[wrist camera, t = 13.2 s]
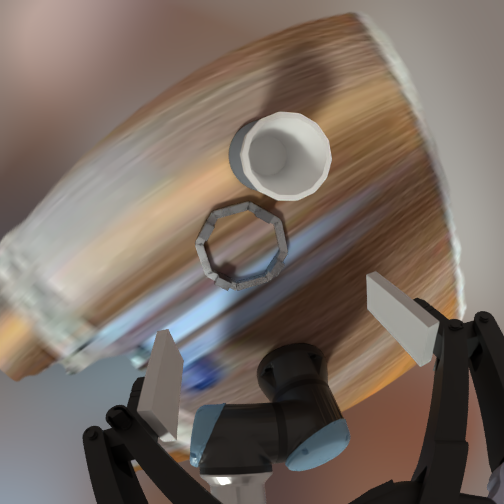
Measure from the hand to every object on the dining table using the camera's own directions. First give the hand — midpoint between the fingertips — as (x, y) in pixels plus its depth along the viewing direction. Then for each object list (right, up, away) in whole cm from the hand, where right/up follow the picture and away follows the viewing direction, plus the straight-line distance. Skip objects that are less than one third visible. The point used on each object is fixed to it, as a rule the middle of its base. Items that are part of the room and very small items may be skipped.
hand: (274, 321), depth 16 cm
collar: (-3, +5, +27) cm, 28 cm away
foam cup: (+1, +18, +22) cm, 29 cm away
